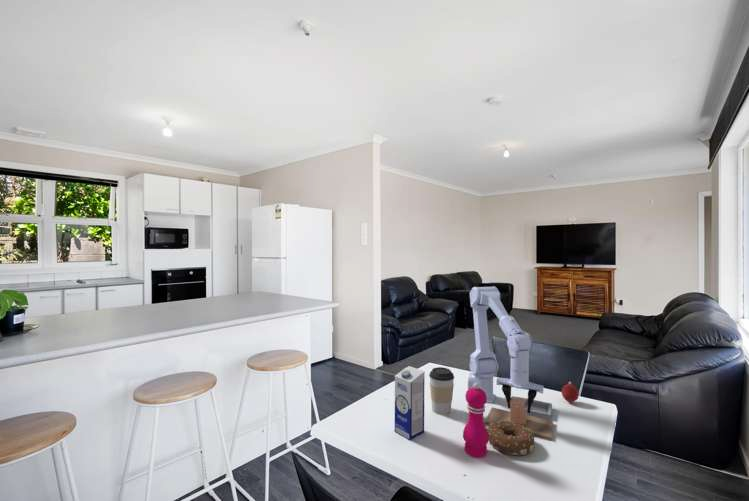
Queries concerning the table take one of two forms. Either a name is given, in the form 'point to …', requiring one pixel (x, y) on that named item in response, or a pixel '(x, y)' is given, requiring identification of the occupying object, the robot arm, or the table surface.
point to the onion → (570, 393)
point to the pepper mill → (475, 423)
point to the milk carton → (409, 402)
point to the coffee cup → (441, 390)
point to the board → (533, 424)
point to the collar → (538, 413)
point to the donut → (510, 438)
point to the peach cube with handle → (518, 410)
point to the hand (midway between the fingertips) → (519, 409)
